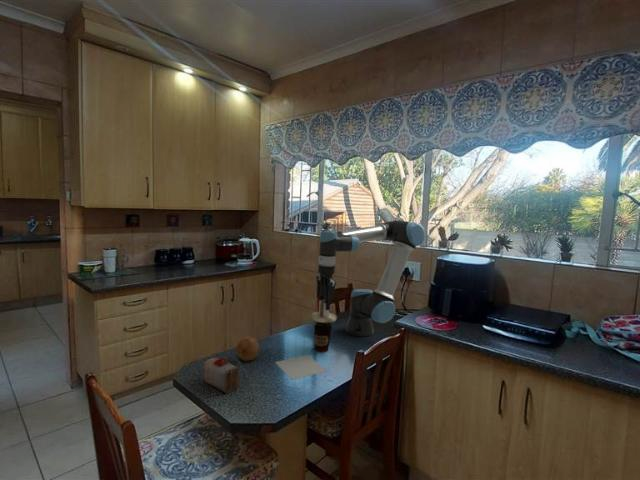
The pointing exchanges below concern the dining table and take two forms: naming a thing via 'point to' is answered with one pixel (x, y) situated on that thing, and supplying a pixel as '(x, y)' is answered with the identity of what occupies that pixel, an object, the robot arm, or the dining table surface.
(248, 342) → the onion
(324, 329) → the coffee cup
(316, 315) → the lid
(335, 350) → the dining table surface
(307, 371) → the mat
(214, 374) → the food item
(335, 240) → the robot arm
